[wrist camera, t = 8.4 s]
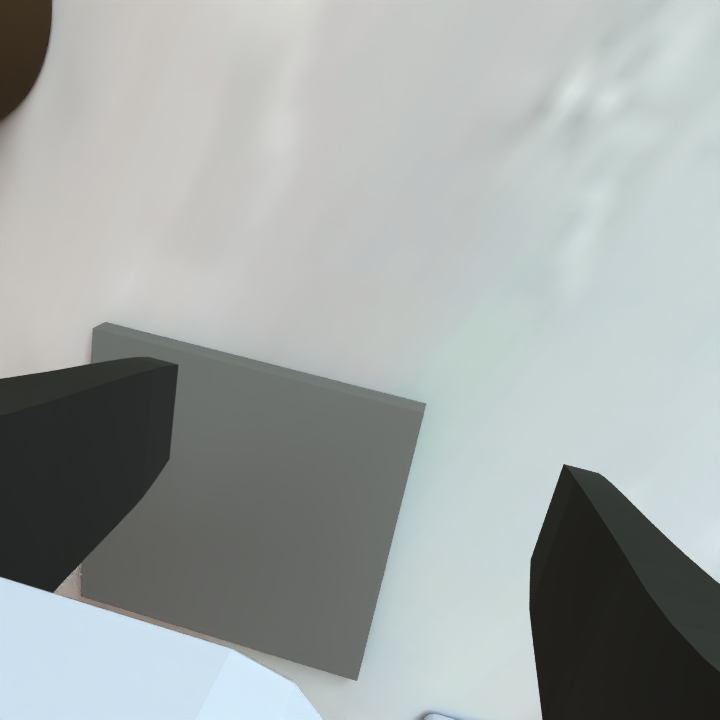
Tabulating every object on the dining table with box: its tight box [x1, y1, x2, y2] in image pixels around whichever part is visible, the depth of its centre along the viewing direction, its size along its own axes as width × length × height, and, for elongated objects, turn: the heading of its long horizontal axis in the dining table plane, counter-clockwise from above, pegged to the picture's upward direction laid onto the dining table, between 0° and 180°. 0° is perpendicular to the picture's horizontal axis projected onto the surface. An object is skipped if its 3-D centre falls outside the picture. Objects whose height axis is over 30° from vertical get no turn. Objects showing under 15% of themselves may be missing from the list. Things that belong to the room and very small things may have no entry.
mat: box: [81, 322, 426, 681], centre depth 25 cm, size 12×12×1 cm
